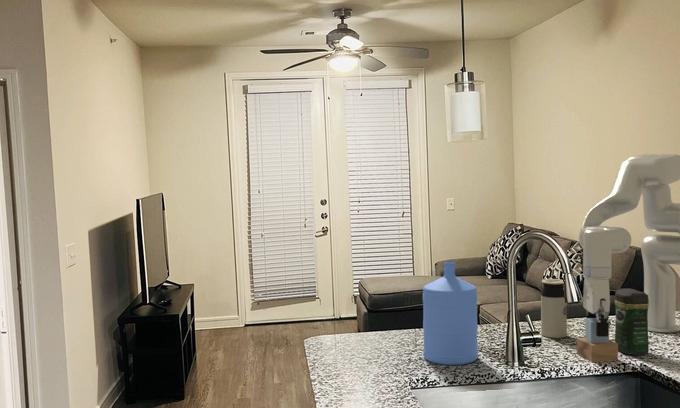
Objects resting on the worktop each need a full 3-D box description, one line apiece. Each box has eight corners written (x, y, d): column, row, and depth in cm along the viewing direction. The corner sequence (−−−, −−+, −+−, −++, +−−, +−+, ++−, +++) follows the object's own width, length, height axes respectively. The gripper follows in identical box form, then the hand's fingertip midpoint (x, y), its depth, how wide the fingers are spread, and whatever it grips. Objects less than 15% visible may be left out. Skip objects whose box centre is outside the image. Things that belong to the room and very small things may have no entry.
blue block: (602, 338, 192) (602, 318, 192) (608, 343, 187) (609, 322, 187) (585, 338, 193) (585, 318, 192) (590, 343, 188) (591, 322, 187)
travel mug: (536, 335, 216) (536, 280, 215) (549, 331, 221) (549, 277, 220) (558, 339, 210) (558, 283, 209) (571, 335, 215) (571, 280, 214)
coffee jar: (653, 355, 191) (654, 291, 190) (627, 356, 190) (628, 292, 189) (634, 346, 200) (635, 286, 199) (610, 348, 199) (610, 287, 198)
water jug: (486, 363, 186) (485, 265, 184) (432, 367, 183) (431, 267, 182) (466, 349, 201) (465, 258, 200) (416, 352, 198) (415, 260, 197)
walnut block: (577, 355, 193) (577, 338, 193) (602, 353, 195) (602, 336, 194) (591, 362, 185) (591, 345, 185) (617, 361, 187) (617, 343, 186)
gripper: (575, 267, 198) (575, 325, 199) (593, 277, 180) (593, 340, 181) (600, 267, 197) (600, 325, 198) (621, 277, 180) (621, 340, 181)
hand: (597, 332), depth 190 cm, fingers open, 8 cm apart
